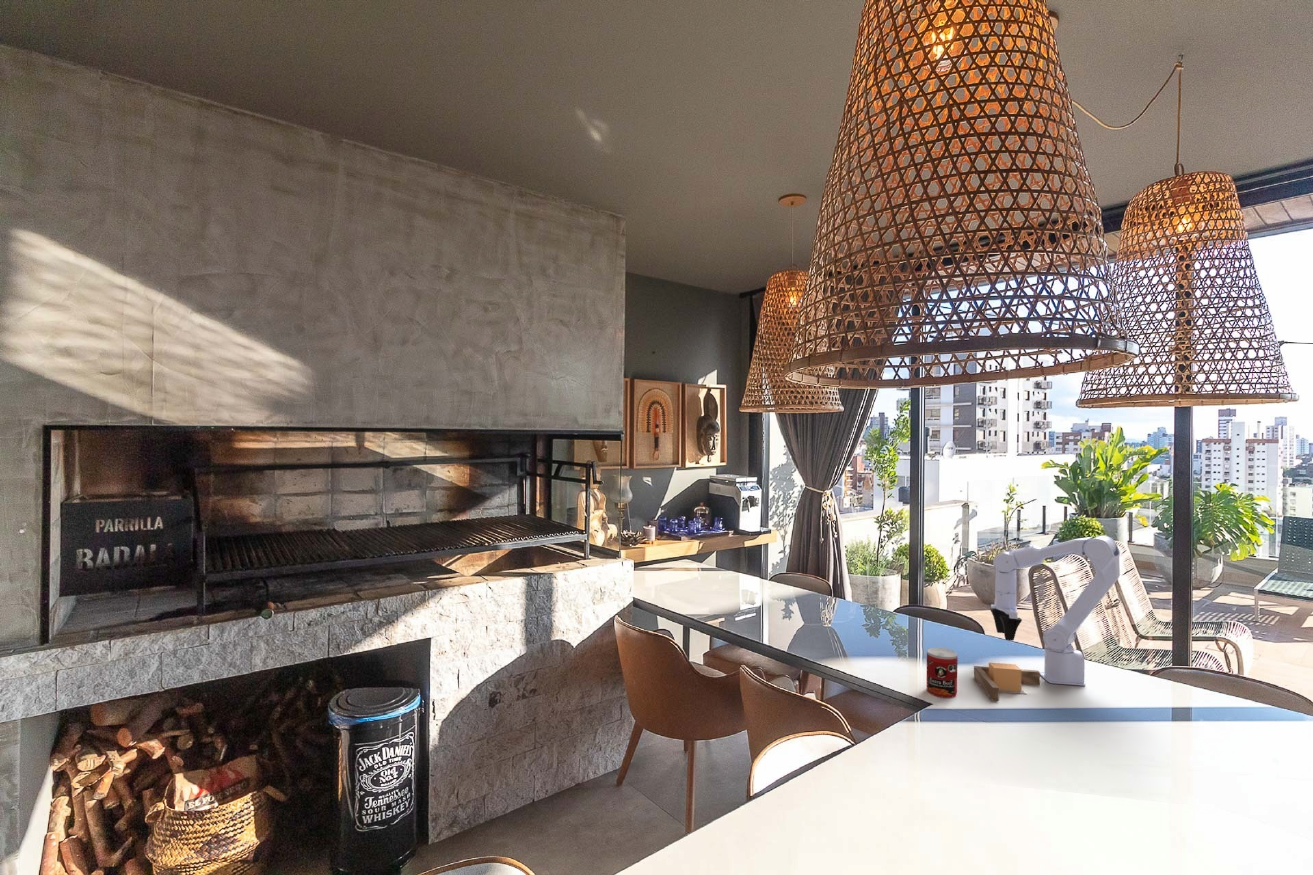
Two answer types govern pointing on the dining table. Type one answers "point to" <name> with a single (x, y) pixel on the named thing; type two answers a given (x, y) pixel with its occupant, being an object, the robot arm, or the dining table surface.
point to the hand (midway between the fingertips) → (1005, 636)
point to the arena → (992, 688)
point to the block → (1005, 676)
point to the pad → (1013, 691)
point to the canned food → (942, 672)
